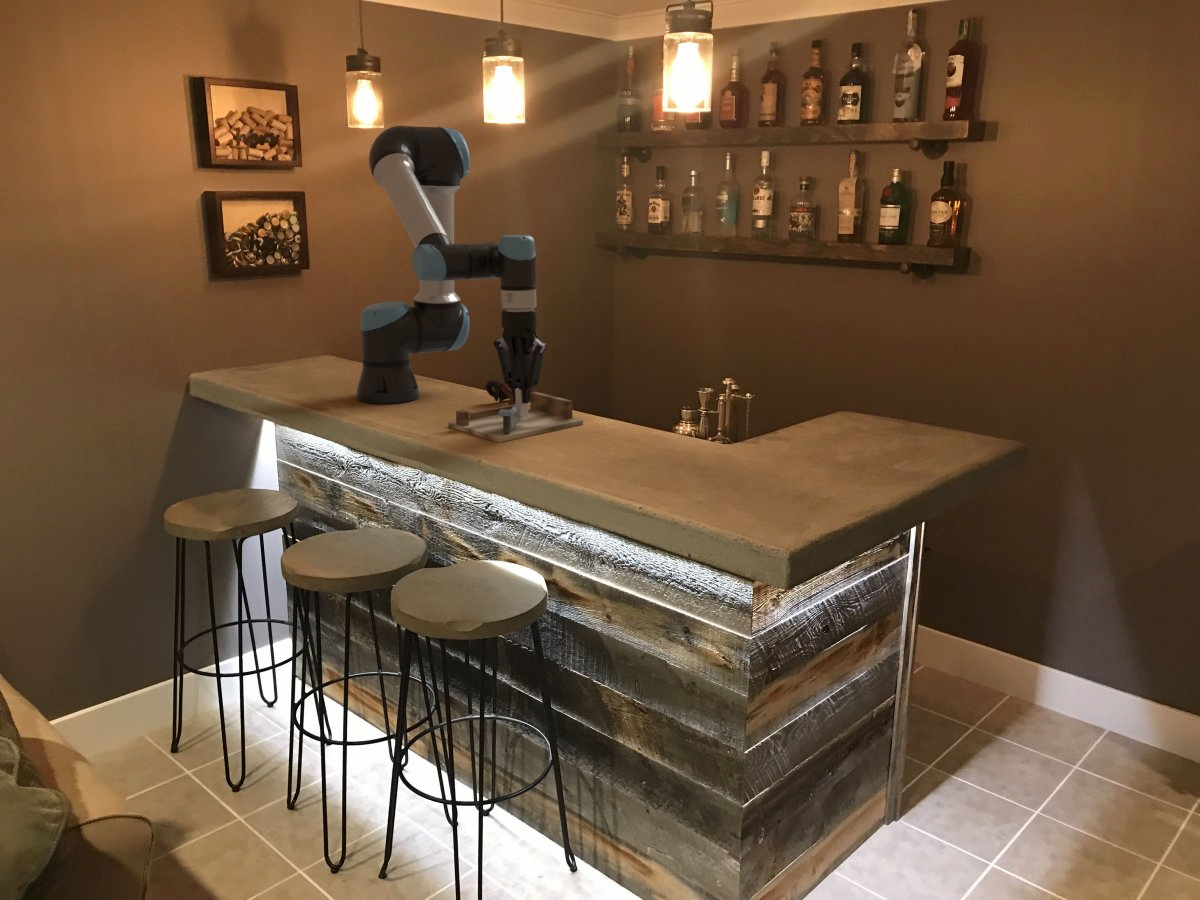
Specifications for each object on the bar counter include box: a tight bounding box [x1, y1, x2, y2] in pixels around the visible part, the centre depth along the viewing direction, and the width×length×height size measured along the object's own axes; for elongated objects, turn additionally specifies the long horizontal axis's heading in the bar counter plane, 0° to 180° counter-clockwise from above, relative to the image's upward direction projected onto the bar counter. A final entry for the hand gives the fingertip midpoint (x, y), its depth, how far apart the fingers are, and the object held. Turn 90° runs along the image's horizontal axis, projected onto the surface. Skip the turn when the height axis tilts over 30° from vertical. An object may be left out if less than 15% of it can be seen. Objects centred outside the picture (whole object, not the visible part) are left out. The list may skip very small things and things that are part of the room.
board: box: [447, 391, 584, 443], centre depth 216 cm, size 18×24×5 cm
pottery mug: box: [484, 379, 535, 406], centre depth 236 cm, size 12×10×8 cm
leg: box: [498, 405, 519, 430], centre depth 211 cm, size 16×3×4 cm, turn 175°
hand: (522, 417), depth 213 cm, fingers closed
